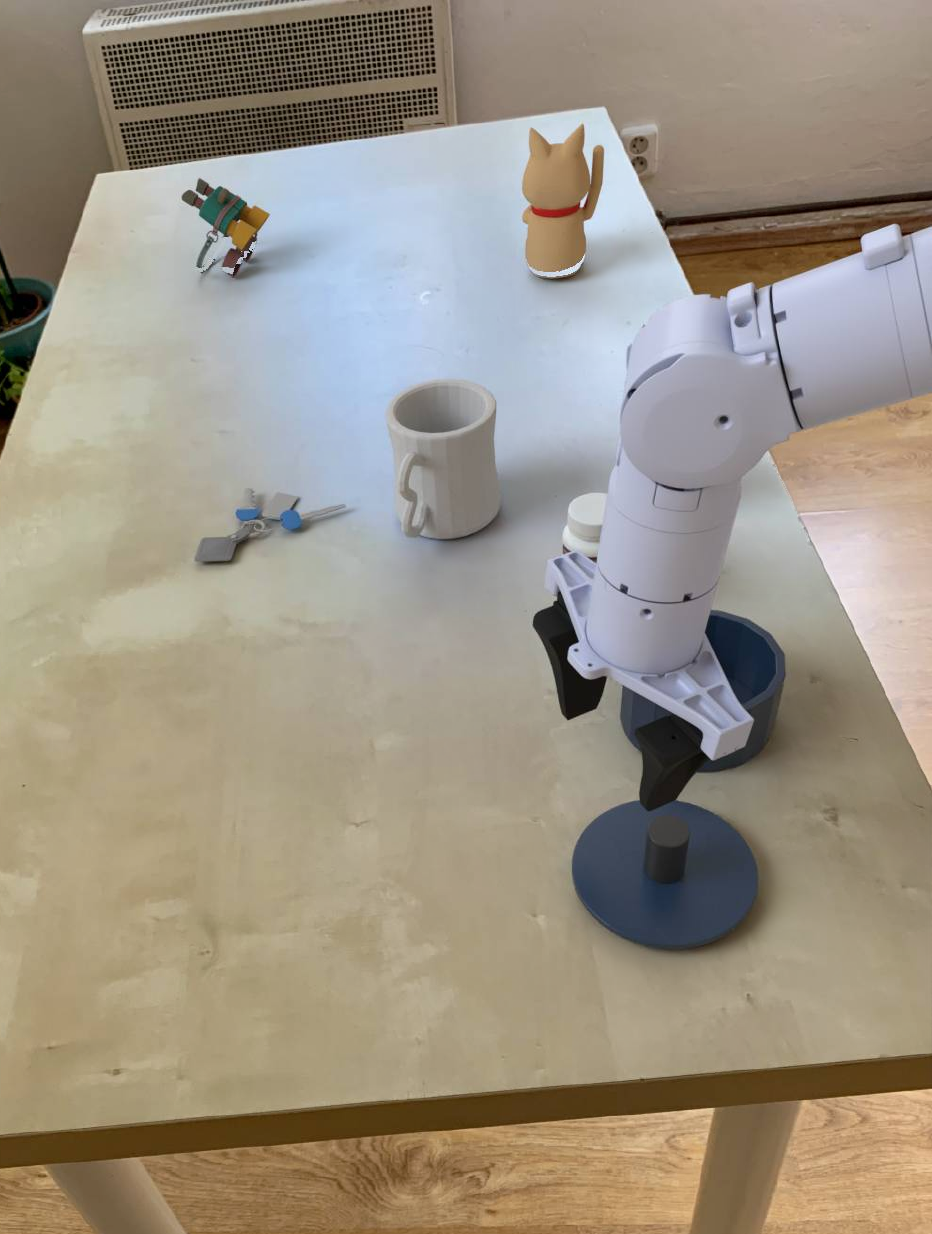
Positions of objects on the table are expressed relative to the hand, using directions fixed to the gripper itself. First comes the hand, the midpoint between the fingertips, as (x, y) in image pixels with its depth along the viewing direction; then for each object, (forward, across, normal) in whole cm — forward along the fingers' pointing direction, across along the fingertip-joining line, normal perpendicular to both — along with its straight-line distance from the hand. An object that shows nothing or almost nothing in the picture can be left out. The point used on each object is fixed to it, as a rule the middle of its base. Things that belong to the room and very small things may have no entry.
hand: (617, 754), depth 62 cm
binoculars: (+14, -95, +14) cm, 97 cm away
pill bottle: (+9, -20, +13) cm, 26 cm away
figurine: (+10, -69, +44) cm, 83 cm away
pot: (+8, -6, +12) cm, 16 cm away
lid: (+8, +4, +2) cm, 9 cm away
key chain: (+12, -45, -4) cm, 47 cm away
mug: (+10, -35, +9) cm, 38 cm away
